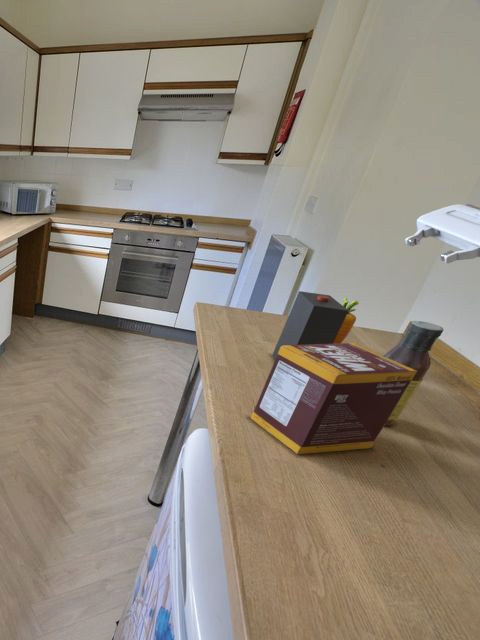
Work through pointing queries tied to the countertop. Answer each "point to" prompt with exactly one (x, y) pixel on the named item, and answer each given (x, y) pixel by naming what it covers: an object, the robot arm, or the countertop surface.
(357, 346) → the supplement box
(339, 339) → the carrot
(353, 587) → the countertop surface
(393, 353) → the sauce bottle
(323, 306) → the box with red knob
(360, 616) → the countertop surface
